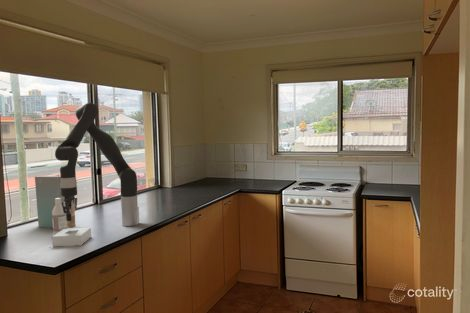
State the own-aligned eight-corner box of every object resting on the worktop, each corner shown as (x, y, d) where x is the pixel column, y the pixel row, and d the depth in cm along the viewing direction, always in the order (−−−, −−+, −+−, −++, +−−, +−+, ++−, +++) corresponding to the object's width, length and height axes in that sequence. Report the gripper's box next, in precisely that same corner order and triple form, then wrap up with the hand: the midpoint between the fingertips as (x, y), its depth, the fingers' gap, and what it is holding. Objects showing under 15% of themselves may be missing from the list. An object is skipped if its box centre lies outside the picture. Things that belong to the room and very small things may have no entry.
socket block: (91, 237, 202) (90, 227, 201) (81, 245, 188) (80, 235, 187) (64, 238, 201) (63, 228, 201) (52, 246, 187) (51, 236, 187)
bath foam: (53, 233, 210) (51, 197, 208) (67, 232, 213) (64, 196, 211) (53, 237, 204) (50, 200, 202) (67, 235, 206) (65, 198, 205)
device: (70, 224, 229) (67, 175, 227) (61, 228, 222) (57, 176, 219) (48, 223, 234) (44, 174, 231) (38, 226, 226) (34, 176, 224)
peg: (76, 225, 196) (75, 202, 195) (73, 227, 192) (72, 204, 191) (68, 225, 196) (67, 202, 195) (65, 228, 192) (64, 204, 191)
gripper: (70, 188, 185) (72, 223, 187) (81, 183, 199) (83, 216, 201) (54, 188, 185) (57, 223, 187) (67, 184, 199) (69, 216, 201)
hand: (70, 219), depth 194 cm, fingers closed on peg, 4 cm apart
